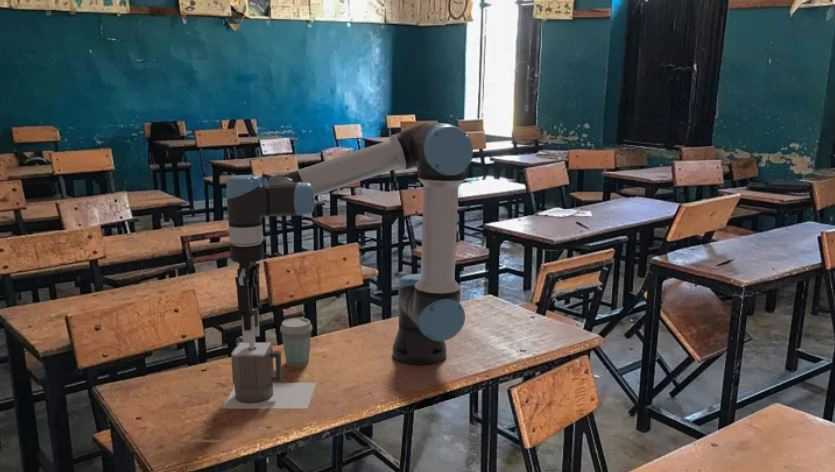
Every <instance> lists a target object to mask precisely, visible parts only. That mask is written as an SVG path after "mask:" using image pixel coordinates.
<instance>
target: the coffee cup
mask: <svg viewBox="0 0 835 472" xmlns="http://www.w3.org/2000/svg"><path fill="white" fill-rule="evenodd" d="M312 330H313V325H312V322H311V320H310V319H308V318H303V317H291V318H287V319H284V320H282V323H281V325H280V329H279V331H280V333H281V338H282V345H283V351H284V355H285V356H284V358H285V362H286V363H285V364H286V365H287V366H289V367H290V368H300V367H305V366H306V365H307V366H308V364H309V362H310V361H309V360H310V351H311V338H312Z"/></svg>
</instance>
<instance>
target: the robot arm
mask: <svg viewBox="0 0 835 472" xmlns="http://www.w3.org/2000/svg"><path fill="white" fill-rule="evenodd" d="M473 154H474V147H473V143H472V141H471V138H470V137H469V135H468V134H467V133H466V132H465V130H463V129H462V128H460V127H458V126H456V125H454V124H451V123H450V124H449V123H439V122H434V121H428V122H423V123H420V124H418V125H415V126H413V127H410V128H408V129H405V130H402V131H401V132H396V133H395V134H391V135H390V138H389V139H388V140H385V141H382V142H380V143H376V144H374V145H371V146H368V147H365V148H361V149H357V150H355V151H352V152H349V153H346V154H342V155H340V156H337V157H334V158H331V159H328V160H325V161H322V162H318V163H315V164H313V165H310V166H307V167H304V168H299V169H298V170H295V171H291V172H288V173H284V174H280V173H279V174H275V175H273V176H271V177H270V178H269V179H268V180H267V182H266V183H262V182H261V178H260V176H258V175H253V174H243V175H242V174H240V175H239V174H238V175H237V174H236V175H233V176H230V177H229V178H227V180H226V205H227V206H226V207H227V209H226V210H227V219H228V220H227V222H228V228H227V229H226V233H228V234H229V237H228V238H229V243H231V244H230V245H229V257H230V260H231V261H232V262H233V263H237V264H238V268H237V272H236V273H237V274H236V275H237V276H235V278H234V280H235V285H236V294H237V307H238V308H237V309H238V314H237V317H238V318H241V328H242V329H241V330H242V342H243V343H256V337H260V319H259V318H260V317H259V314H258V326H257V327H255V325H254V315H253V307H257V308H258V310H259V309H263V308H262V307H263V306H262V304H261V292H260V291H261V290H260V288H261V286H260V285H261V284H260V267H261V266H260V263H259V261H262V260H263V259H264V255H265V254H264V243H262V241H264V232H263V217H265V218H267V217H281V216H282V217H285V216H298V217H299V216H302V215H310V214H312V213H313V212H314V210H315V197H317V196H319V195H322V194H324V193H325V194H326V193H328V192H331V191H334V190H337V189H340V188H343V187H345V186H349V185H353V184H355V183H358V182H361V181H363V180H367V179H369V178H370V179H371V178H372V177H376V176H379V175H382V174H384V173H387V172H391V171H393V170H397V169H398V170H401V171H406V170H409V169H414V168H418V169H417V179H418V180H419V182H420V183H421V184H422V185H423V201H422V225H421V226H422V227H421V228H422V231H421V233H422V235H421V257H420V258H421V262H420V273H412V274H407V275H403V276H401V277H400V278H399V280H398V287H397V290H398V329H397V333H396V336H395V338H394V342H393V345H392V357H393V358H394V359H395V360H397V361H398V362H401V363H403V364H408V365H419V366H420V365H421V366H422V365H431V364H436V363H439V362H442V361H444V359H446V357H447V343H446V341H448V340H450V339H452V338H455V337H456V335H457V334H459V333H460V332H461V330H462V329H463V327H464V325H465V321H466V313H465V309H464V307H463V305H462V304H461V303H460V300H461V299H460V297H461V296H460V295H461V286H460V284H459V283H458V282H457V280H455V274H456V273H455V270H456V255H457V254H456V253H457V252H456V251H457V248H456V247H457V226H458V225H457V224H458V223H457V222H458V204H459V203H458V202H459V188H460V186H461V184H463V182H465V181H466V169H467V168H468V167H469V165H470V164H471V162H472V159H473V156H474V155H473Z"/></svg>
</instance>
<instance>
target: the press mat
mask: <svg viewBox="0 0 835 472" xmlns="http://www.w3.org/2000/svg"><path fill="white" fill-rule="evenodd" d="M316 386H317V382H273V396H272V397H271V398H270V399H268V400H266V401H263V402H259V403H242V402H239V401H237V400H236V398H235V386H234V387H233V389H232V390H231V392H230V394H229V395H228V397H227V399H226V400H225V402H224V403H223V405H222V407H221V409H237V410H238V409H242V410H243V409H250V410H251V409H255V410H258V409H260V410H262V409H266V410H267V409H270V410H271V409H272V410H275V409H279V410H280V409H281V410H282V409H283V410H289V409H290V410H293V409H295V410H303V409H307V410H308V409H309V407H310V406H309V405H310V403H311V400H312V397H313V395H314V391H315V388H316Z"/></svg>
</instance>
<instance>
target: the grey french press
mask: <svg viewBox="0 0 835 472" xmlns="http://www.w3.org/2000/svg"><path fill="white" fill-rule="evenodd" d="M254 348H255V350H249V343H243V341H242V342H239V343H238V344H237V345H236V346H235V347H234V348H233V350H232V351H231V353H230V357H231V371H232V372H231V373H232V384H234V387H235V398H236V400H237V401H239V402H242V403H259V402H263V401H266V400H268V399H270V398H271V397H272V396H273V383H274V382H281V381H282V379H283V372H282V351H281V350H273V346H272V342H255V343H254ZM250 356H255V357H250ZM274 358H275V370H274ZM274 371H275V372H274ZM274 373H275V374H274Z"/></svg>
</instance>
